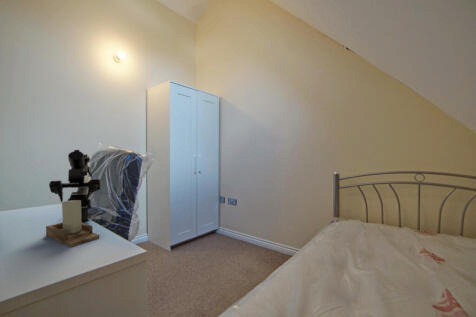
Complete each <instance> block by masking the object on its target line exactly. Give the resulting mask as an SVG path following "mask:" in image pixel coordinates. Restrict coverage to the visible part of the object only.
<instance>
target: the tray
mask: <svg viewBox="0 0 476 317" xmlns="http://www.w3.org/2000/svg"><path fill="white" fill-rule="evenodd" d="M45 233H46V234H45V235H46V237H48V238H50V239H52V240H55V241H57V242H58V243H61V244H64V245H66V246H67V247H70V248H72V247H75V246H79V245H81V244H85V243H87V242H91V241H94V240H97V239H99V238H100V234H98V233H95V232H93V225H91V224H87V223H84V222H82V230H81V231H78V232H76V233H73V234H72V233H71V234H70V233H67V232H65V231H63V222H59V223H54V224H50V225H46V226H45Z"/></svg>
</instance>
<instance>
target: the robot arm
mask: <svg viewBox="0 0 476 317" xmlns="http://www.w3.org/2000/svg"><path fill="white" fill-rule="evenodd" d="M67 156H68V157H67V159H68V163H69V165H70V169H68V179H67V180H68V182H65V183H64V182H62V180H51V181H49V185H48V186H49V190H50V193H52V194H54V195H57V196H58V197H59V200H60V203H62V202H64V196H63V195H64V192H63V189H67V188H71V189H73V188H75V189H76V188H77V190H76V191H72V192H71V194H70V196H69V198H68V199H67V201H70V200H81V218H82V223H84V222H89V221H90V219H89V215H88V213H89V212H88V210H90V209H91V208H92V201H91V199H90V198H91V196H92V195H93V194H94V193H95V192H98V191H100V190H101V180H100V179H99V178H94V179H91V178H90V177H92V173H93V172H92V171H91V167H90V166H89V165H88V164H89V163H90V161H91V158H90V156H89V155H88V153H86V154H85V153H83V152H82V151H80V149H74V150H73V151H71V152H70V153H68V155H67ZM88 175H89V176H88Z"/></svg>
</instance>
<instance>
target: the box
mask: <svg viewBox="0 0 476 317" xmlns="http://www.w3.org/2000/svg"><path fill="white" fill-rule="evenodd" d="M61 206H62V207H61V212H62V214H61V215H62V223H63V231H65V232H67V233H70V234H71V233H72V234H73V233H76V232H78V231H81V230H82V223H83V222H82V218H81V200H70V201H68V200H67V201H66V200H65V201H62V202H61Z"/></svg>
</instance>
